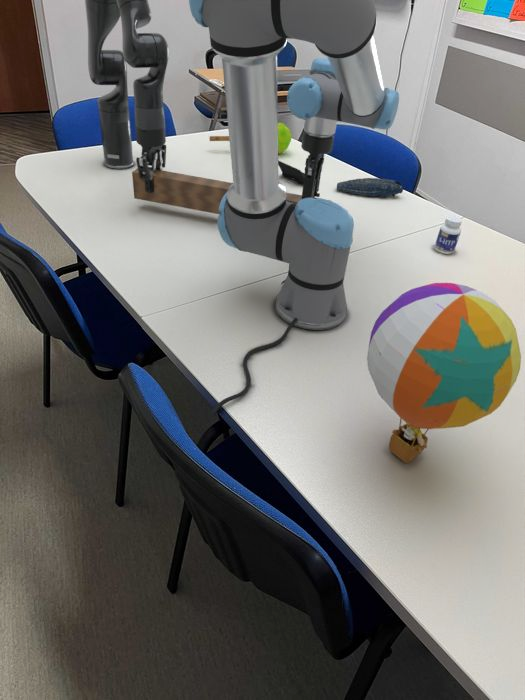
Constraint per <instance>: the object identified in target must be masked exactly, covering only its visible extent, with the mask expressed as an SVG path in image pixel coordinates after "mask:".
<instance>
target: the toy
mask: <svg viewBox="0 0 525 700" xmlns="http://www.w3.org/2000/svg"><path fill="white" fill-rule="evenodd" d="M367 347H368V348H367V354H366V355H367V356H366V362H367V370H368V372H369V375H370V377H371V379H372V380H371V381H372V382H373V385H374V387H375V389H376V391H377V394H378V395H379V397H381V399H382V401H384V402H385V403H386V405H387V406H388V407H389V408H390V409H391V410H392V411H393V412H394V413H395V414H396V415H397V416H398V417H399V418H400V419H399V425H398V428H397V429H393V430H392V434H391V436H390V440H389V444H388V449H389V451H390V453H392V454H394V455H395V456H396V457H397V458H399V460H401V461H402V462H404V463H405V464H409V463H410V462H412V461H413V460H414V459H415V458H417V457H418V456H419V455H420V454H421V453H423V451H424V449H427V447H428V440H429V438H428V437H427V436H426V434H427V433H428V431H429V430H437V429H453V428H461V427H466V426H467V425H469V424H472V423H475V422H477V421H478V420H481V419H483V418H485V417H487V416H489V415H492V413H494V412H495V411H496V410H497V409H498V408H500V407H501V405H502V404H503V402H504V401H505V399H506V398H507V396H508V395H509V394H510V391H512V388H513V387H514V385H515V383H516V382H517V379H518V376H519V373H520V371H521V362H522V354H521V349H520V343H519V338H518V333H517V329H516V327H515V324H514V323H513V321H512V319H511V317H510V316H509V315H508V314H507V312H506V311H505V310H504V309H503V307H502V306H500V304H499V303H498V302H497V301H496V300H495V299H493V298H491V297H490V296H489V295H487V294H485V293H484V292H483V291H481V290H478V289H475V288H473V287H470V286H467V285H464V284H458V283H453V282H434V283H429V284H424V285H421V286H418V287H414V288H411V289H409V290H407V291H405V292H403V293H402V294H401V295H399V296H398V297H397V298H396V299H394V301H393V302H392V303H390V304H389V305H388V306H387V307H386V308H385V309H383V310H382V311H381V313H380V314H379V315H378V317H377V319H376V320H375V321H374V324H373V327H372V330H371V332H370V338H369V342H368V346H367ZM402 420H403V421H404V422H405V423H404V424H403V425H402ZM421 429H422V430H426V431H425V432H424V433H423V432H422V430H421Z"/></svg>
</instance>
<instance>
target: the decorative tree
mask: <svg viewBox="0 0 525 700" xmlns="http://www.w3.org/2000/svg"><path fill="white" fill-rule="evenodd" d="M209 142H230V140H229V135H209ZM291 143H292V131H291V129H290V128H289V127H288V126H286V125H285V123H283V122H278V154H281V153H283V152H285V151H287V150H288V149H289V146H290V144H291Z"/></svg>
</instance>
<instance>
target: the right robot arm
mask: <svg viewBox="0 0 525 700" xmlns="http://www.w3.org/2000/svg"><path fill="white" fill-rule="evenodd" d="M188 5H189V9H190V13H191V15H192V18H193V19H194V21H195V22H196V24H198V25H200V26H201V27H202V28H208V32H209V41H210V47H211V49H212V50H213V52H214V53H216V55H218V56H219V57H220V58H221V63H222V73H223V74H222V75H223V85H224V95H225V96H224V97H225V105H226V106H225V107H226V116H227V118H226V119H227V127H228V129H227V130H228V136H229V140H230V141H229V150H230V160H231V173H232V183H233V184H232V185H231V186H230V187H229V189H228V191H227V193H226V194H225V195H224V196H223V198H222V200H221V203H220V206H219V212H220V213H219V214H217V228H218V232H219V236H220V238H221V240H222V241H223V242H224V243H225V244H226V245H228V246H229V247H232V248H234V249H237V250H238V251H241V252H245V253H249V254H254V255H257V256H261V257H265V258H268V259H271V260H276V261H280V262H283V263H286V264H288V270H287V271H288V272H287V275H286V278H285V279H284V280H282V281H281V282H280V283H281V284H280V285H281V287H280V290H279V291H278V294H277V296H276V300H275V311H276V313H277V315H278V316H279V317H280V318H281V319H282V320H283V321H284V322H286V323H287V324H289V325H288V326H287V327H286V329H285V331H284V333H283V334H282V335H281V337H280V338H278V339H277V340H275V341H273V342H271V343H268V344H264V345H260V346H257V347H254V348H252V349H251V350H249V351H248V352H247V353H246V354H245V355H244V356H243V357H244V358H243V361H242V367H243V371H244V374H245V377H246V384H245V386H244V388H243V389H242V390H241V391H240V392H238V393H236V394H233V395H230V396H228V397H226V398H224V399H222V400H221V401H219V402H218V403H217V404H216V405H215V406H214V408H213V409H212V411H211V412H210V416H211V417H214V416H216V414H217V413H218V411H219V410H220V409H221V408H222V407H223V406H224V405H225V404H227V403H229V402H232V401H234V400H237V399H239V398H242V397H243V396H245V395H246V394H247V393H248V391H249V389H250V387H251V384H252V378H251V374H250V371H249V367H248V359H250V357H251V356H252V355H253V354H255V353H257V352H259V351H262V350H265V349H269V348H273V347H275V346H277V345H279V344H281V343H282V342H283V341H284V340H285V339H286V338H287V336H288V335H289V333H290V331H291V330H292V328H293V327H296V328H300V329H304V330H310V331H324V330H325V331H326V330H329V329H333V328H336V327H337V326H339V325H340V324H342V323H343V322H344V320H345V318H346V315H347V310H348V307H347V306H348V305H347V297H346V292H345V286H344V280H345V275H346V271H347V267H348V261H349V257H350V251H351V246H352V244H353V242H354V241H353V240H354V239H353V236H354V235H353V234H354V228H355V221H354V218H353V215H352V214H351V213H349V211H348V210H347V209H346V208H345V207H344V206H342V205H340V204H339V203H336V202H335V201H332V200H330V199H326V198H321V193H319V191H320V182H321V175H322V172H323V165H324V162H325V155H327V154H331V152H332V151H333V147H334V141H335V135H334V134H336V130H337V123H338V122H341V123H347V124H352V125H355V126H360V127H365V128H371V129H372V130H374V129H378V130H383V131H384V130H389V129H390V128H391V127H392V126H393V124H394V121H395V118H396V116H397V113H398V109H399V104H400V94H399V92H398V91H397V90H394V89H390V87H384V83H383V78H382V73H381V69H380V63H379V58H378V53H377V47H376V44H375V43H376V42H375V38H374V34H375V31H376V28H377V21H378V19H377V18H378V17H377V10H376V4H375V1H374V0H188ZM288 39H291V40H293V39H294V40H298V41H303V42H308V43H311V44H313V45H314V46H315V47H316V49H317V50H318V51H319V53H320V54H322V55H323V56H325V57H316V58H314V59H313V60H312V61H311V66H310V70H309V75H306V76H304V77H303V76H302V77H301V78H298V79H297V80H296V81H295V82H293V83H292V85H291V86H289V89H288V91H287V95H286V104H287V107H288V109H289V111H290V113H291V114H292V115H293V116H294V117H296V118H298V119H301V120H303V121H304V124H303V130H304V132H302V138H301V146H300V147H301V149H302V150H303V151H304V152H307V153H309V154H308V155H307V158H306V159H305V164H304V165H305V167H304V173H305V175H304V183H303V184H302V191H301V195H302V198H301V200H300V201H299V202H298V203H297V204H294V203H290V202H287V201H286V193H287V189H286V186H285V185H284V184H283V183H282V182H281V181H279V165H278V161H279V153H278V123H279V118H278V117H279V112H278V111H279V110H278V108H279V107H278V105H279V104H278V101H279V100H278V55H279V53H280V52H281V51H282V50H283V49H284V48H285V47H286V45H287V41H288ZM313 197H314V198H316V199H314V198H313ZM329 200H330V201H329Z"/></svg>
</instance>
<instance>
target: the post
mask: <svg viewBox="0 0 525 700" xmlns="http://www.w3.org/2000/svg"><path fill="white" fill-rule="evenodd" d="M131 174H132V175H131V176H132V188H133V199H136V200H141V201H147V202H151V203H157V204H162V205H168V206H174V207H179V208H184V209H188V210H189V209H190V210H193V211H200V212H205V213H211V214H215V215H219V213H220V212H219V206H220V203H221V200H222V198H223V196H224V195H225V194H226V193H227V191H228V189H229V187H230V186H231V185H232V184H233V182H229V181H223V180H219V179H214V178H213V179H212V178H207V177H201V176H196V175H190V174H186V173H185V174H184V173H179V172H173V171H169V170H168V171H167V170H164V169H163V170H157V169H155V171H154V172H153V185H154V192H153V193H147V192H146V191H145V180H144V179H140V177H139V172H138V167H137V168H136V169H134V170H133V171H132V172H131ZM149 174H150V170H149ZM301 198H302V194H298V193H297V194H296V193H291V192H286V201H287V202H290V203H294V204H297V203H298V202H299V201H300V200H301ZM313 198H314V197H313ZM316 198H317V197H315V198H314V199H316ZM328 200H329V201H331V200H330V199H328Z"/></svg>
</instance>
